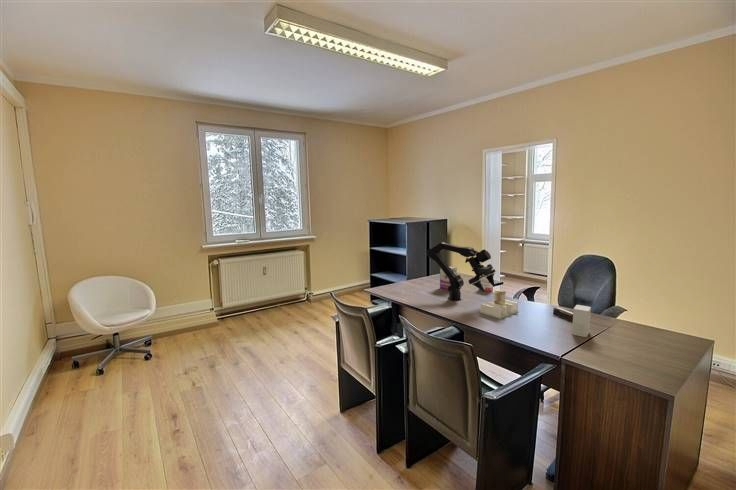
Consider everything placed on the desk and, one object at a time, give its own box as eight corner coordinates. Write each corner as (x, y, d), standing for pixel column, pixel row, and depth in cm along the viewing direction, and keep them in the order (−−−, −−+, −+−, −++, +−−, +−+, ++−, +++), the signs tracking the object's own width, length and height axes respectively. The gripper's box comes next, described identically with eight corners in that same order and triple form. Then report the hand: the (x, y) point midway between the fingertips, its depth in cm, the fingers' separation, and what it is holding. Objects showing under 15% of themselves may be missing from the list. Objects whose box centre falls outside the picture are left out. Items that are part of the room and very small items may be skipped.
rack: (479, 312, 201) (480, 303, 200) (498, 306, 211) (498, 297, 211) (500, 319, 190) (500, 309, 190) (518, 312, 201) (518, 302, 200)
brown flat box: (573, 326, 179) (574, 318, 179) (536, 311, 203) (537, 304, 202) (594, 323, 184) (595, 315, 183) (556, 308, 207) (556, 301, 207)
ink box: (493, 290, 246) (493, 274, 244) (489, 291, 243) (489, 275, 241) (482, 288, 252) (483, 272, 251) (478, 289, 249) (479, 273, 248)
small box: (574, 329, 175) (576, 304, 173) (589, 332, 171) (591, 306, 169) (571, 334, 169) (573, 308, 167) (586, 337, 165) (588, 311, 163)
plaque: (493, 310, 202) (494, 290, 200) (496, 309, 204) (497, 289, 202) (501, 312, 198) (502, 292, 196) (504, 311, 200) (505, 291, 198)
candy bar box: (456, 289, 249) (457, 267, 247) (452, 291, 246) (453, 268, 243) (443, 287, 257) (443, 265, 255) (439, 288, 254) (439, 266, 251)
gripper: (473, 266, 204) (487, 290, 201) (494, 256, 213) (508, 279, 209) (462, 272, 213) (475, 295, 210) (483, 262, 222) (495, 284, 219)
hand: (489, 288), depth 212 cm, fingers open, 9 cm apart
